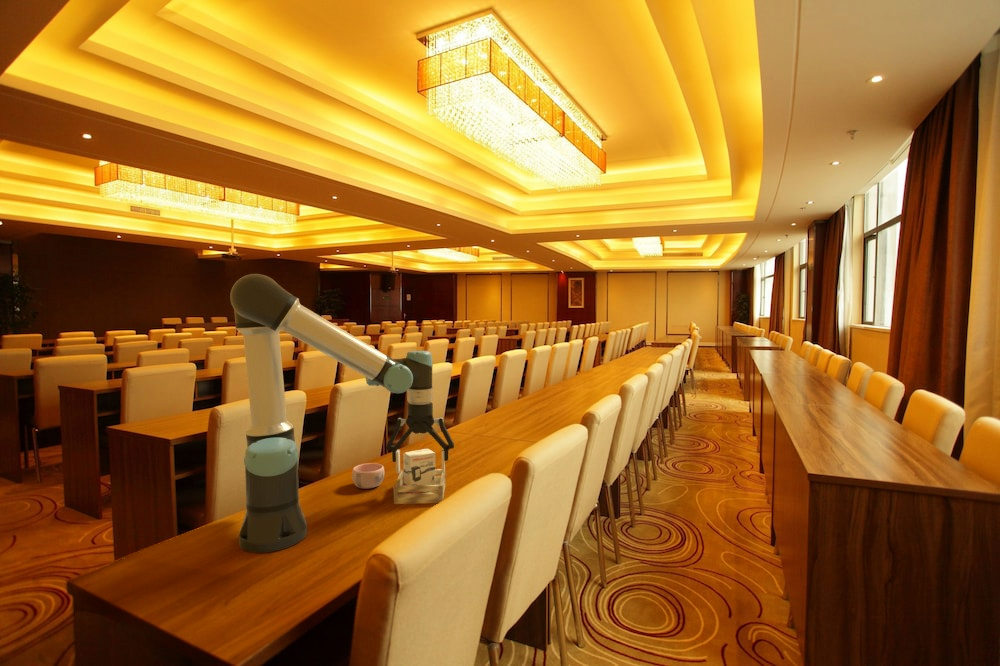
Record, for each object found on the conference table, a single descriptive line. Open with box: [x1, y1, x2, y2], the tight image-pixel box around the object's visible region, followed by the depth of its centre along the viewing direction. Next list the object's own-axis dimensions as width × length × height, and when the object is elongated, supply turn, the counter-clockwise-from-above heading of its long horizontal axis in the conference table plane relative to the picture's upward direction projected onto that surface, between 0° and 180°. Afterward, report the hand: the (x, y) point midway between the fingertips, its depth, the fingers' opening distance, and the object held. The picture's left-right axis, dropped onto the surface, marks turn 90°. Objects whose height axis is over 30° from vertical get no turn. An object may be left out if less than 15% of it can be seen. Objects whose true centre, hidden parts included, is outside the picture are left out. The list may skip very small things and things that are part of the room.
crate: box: [393, 468, 447, 505], centre depth 149 cm, size 14×15×5 cm
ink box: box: [402, 448, 436, 494], centre depth 149 cm, size 8×5×12 cm, turn 124°
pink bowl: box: [351, 462, 385, 489], centre depth 157 cm, size 12×10×6 cm
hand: (420, 471), depth 149 cm, fingers open, 13 cm apart
